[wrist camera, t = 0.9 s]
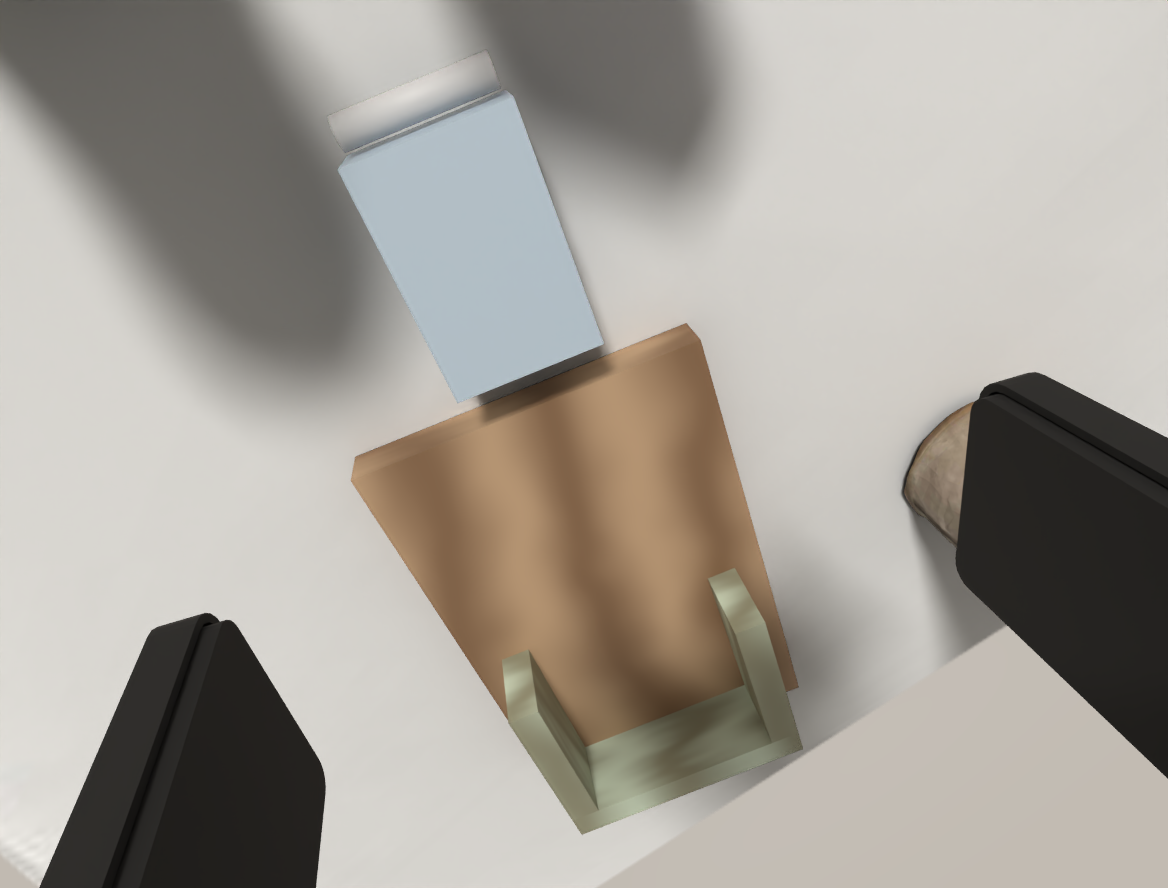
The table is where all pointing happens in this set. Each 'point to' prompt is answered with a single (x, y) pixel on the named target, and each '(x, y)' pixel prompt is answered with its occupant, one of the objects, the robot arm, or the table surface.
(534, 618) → the dock
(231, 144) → the table surface
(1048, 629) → the robot arm
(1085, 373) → the table surface
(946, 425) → the spray can
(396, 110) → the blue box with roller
